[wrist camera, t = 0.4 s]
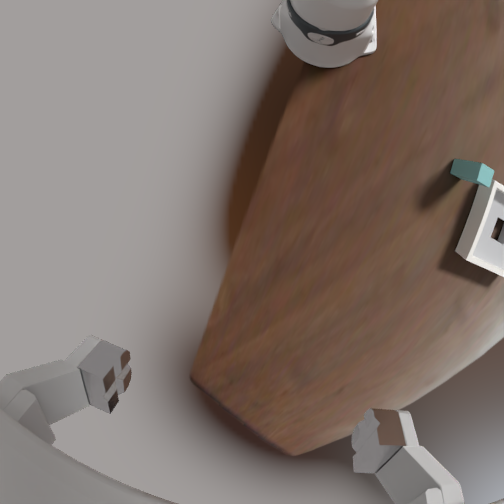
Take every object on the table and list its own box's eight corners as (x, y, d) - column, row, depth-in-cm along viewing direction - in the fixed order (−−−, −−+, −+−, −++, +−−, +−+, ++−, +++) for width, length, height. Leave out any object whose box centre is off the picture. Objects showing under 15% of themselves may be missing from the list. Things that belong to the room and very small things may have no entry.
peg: (454, 158, 44) (481, 163, 35) (465, 164, 44) (494, 170, 35) (450, 173, 45) (477, 180, 36) (461, 179, 45) (489, 187, 36)
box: (481, 176, 44) (494, 180, 39) (527, 206, 43) (540, 212, 39) (454, 251, 50) (465, 260, 45) (502, 272, 49) (513, 281, 45)
